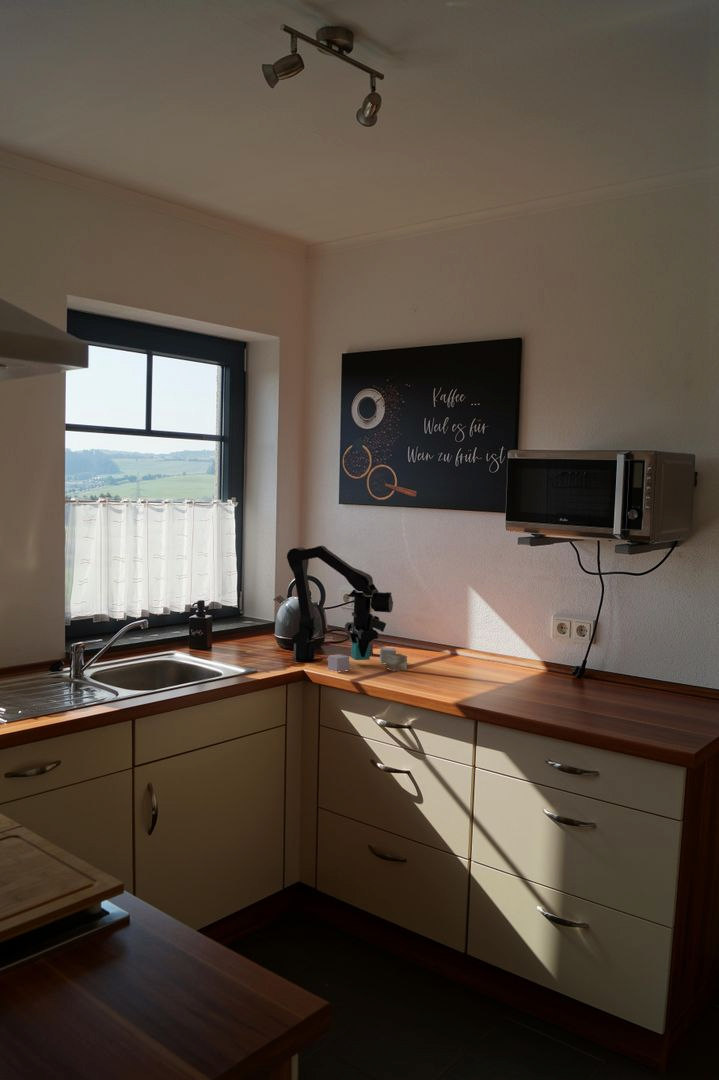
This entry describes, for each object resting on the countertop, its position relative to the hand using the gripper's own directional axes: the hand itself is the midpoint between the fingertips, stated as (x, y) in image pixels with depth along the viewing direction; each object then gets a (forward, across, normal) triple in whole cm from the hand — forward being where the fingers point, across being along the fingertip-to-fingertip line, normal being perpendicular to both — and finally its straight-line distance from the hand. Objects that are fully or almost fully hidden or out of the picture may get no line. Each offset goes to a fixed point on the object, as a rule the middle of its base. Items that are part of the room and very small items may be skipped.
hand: (360, 655), depth 301 cm
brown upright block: (+4, +18, -7) cm, 20 cm away
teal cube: (+1, 0, 0) cm, 1 cm away
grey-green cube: (+4, -9, -10) cm, 14 cm away
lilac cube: (+4, -7, +10) cm, 13 cm away
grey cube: (+4, +2, -11) cm, 12 cm away
